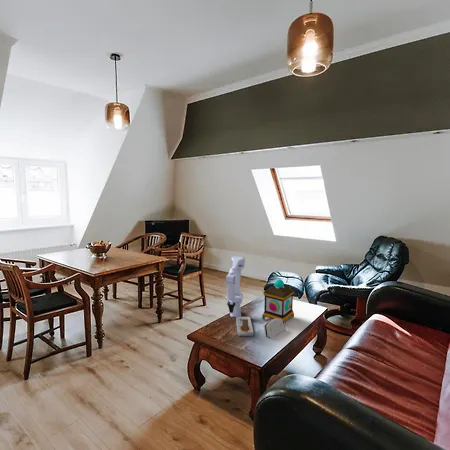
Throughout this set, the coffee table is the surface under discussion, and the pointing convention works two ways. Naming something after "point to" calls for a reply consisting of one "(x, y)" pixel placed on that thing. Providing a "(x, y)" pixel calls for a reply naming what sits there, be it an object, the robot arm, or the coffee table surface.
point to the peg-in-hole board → (239, 327)
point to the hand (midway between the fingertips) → (230, 310)
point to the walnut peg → (244, 324)
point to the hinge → (274, 328)
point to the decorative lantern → (278, 301)
